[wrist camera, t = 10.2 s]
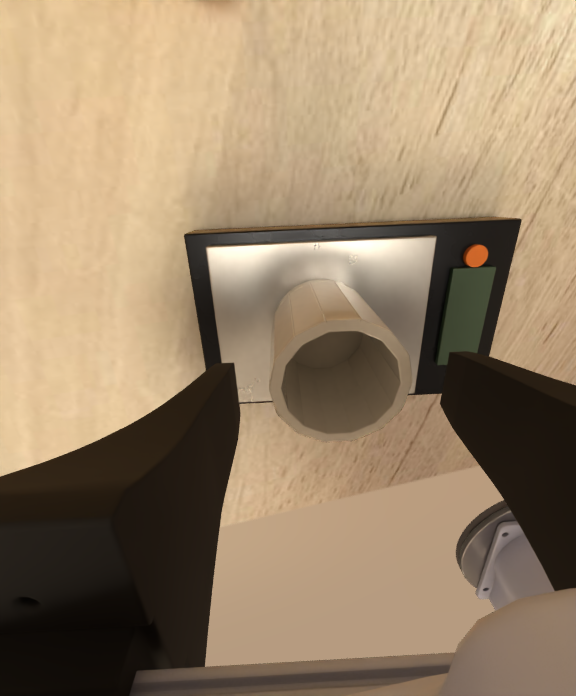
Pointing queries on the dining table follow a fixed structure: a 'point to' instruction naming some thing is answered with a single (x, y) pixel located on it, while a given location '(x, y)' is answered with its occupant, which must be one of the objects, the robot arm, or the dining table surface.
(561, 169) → the dining table surface
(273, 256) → the scale
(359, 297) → the pot
